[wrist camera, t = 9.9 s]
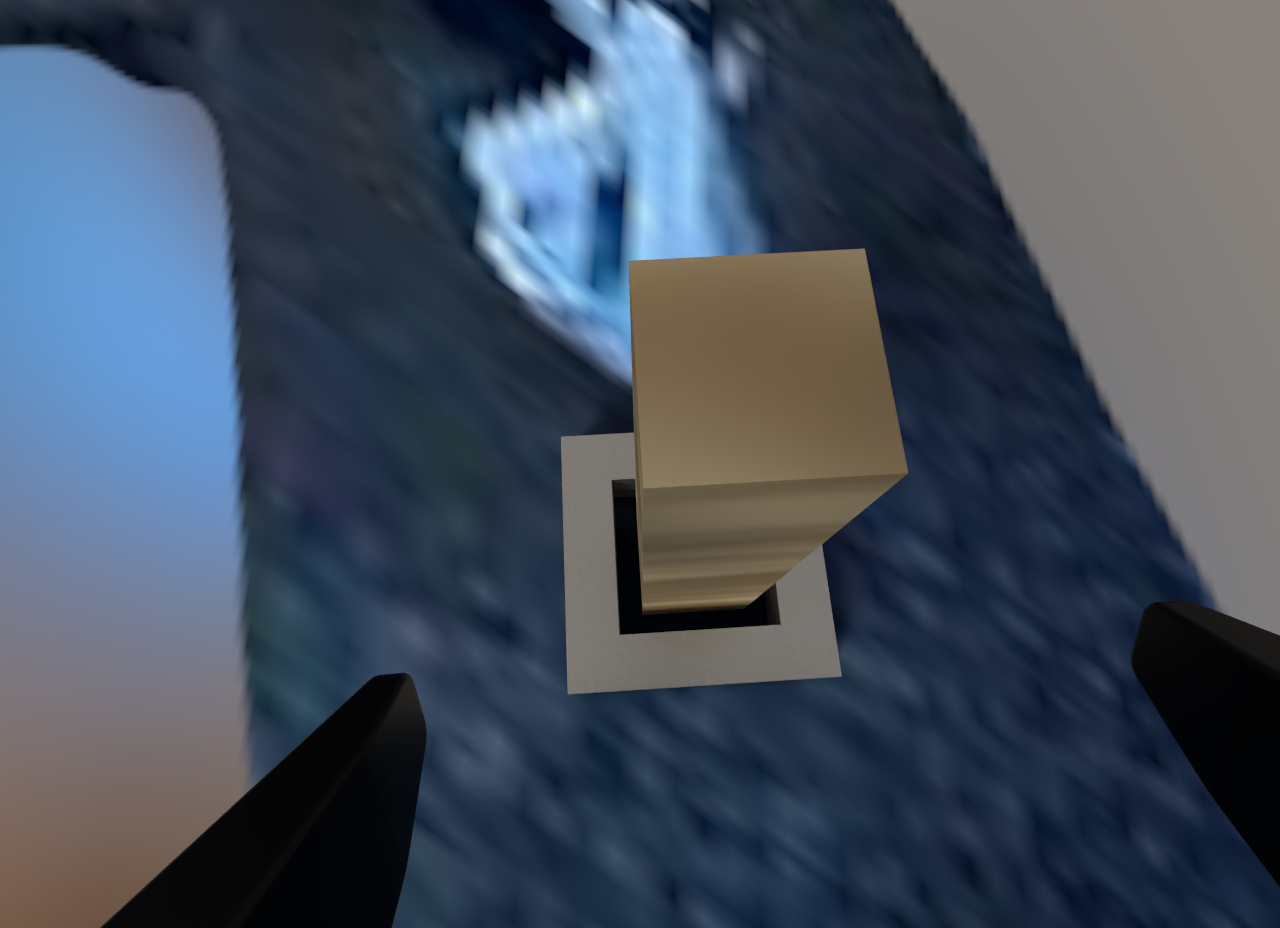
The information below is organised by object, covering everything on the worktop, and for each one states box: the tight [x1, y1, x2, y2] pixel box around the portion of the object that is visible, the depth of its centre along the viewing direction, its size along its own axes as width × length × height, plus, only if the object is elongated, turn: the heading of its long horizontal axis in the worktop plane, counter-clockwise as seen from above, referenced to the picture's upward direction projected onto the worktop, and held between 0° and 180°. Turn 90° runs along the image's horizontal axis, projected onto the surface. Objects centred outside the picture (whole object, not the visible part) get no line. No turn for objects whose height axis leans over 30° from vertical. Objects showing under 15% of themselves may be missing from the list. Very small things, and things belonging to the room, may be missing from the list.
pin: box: [629, 249, 908, 615], centre depth 15 cm, size 3×3×14 cm
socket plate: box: [561, 433, 842, 694], centre depth 21 cm, size 8×8×2 cm
